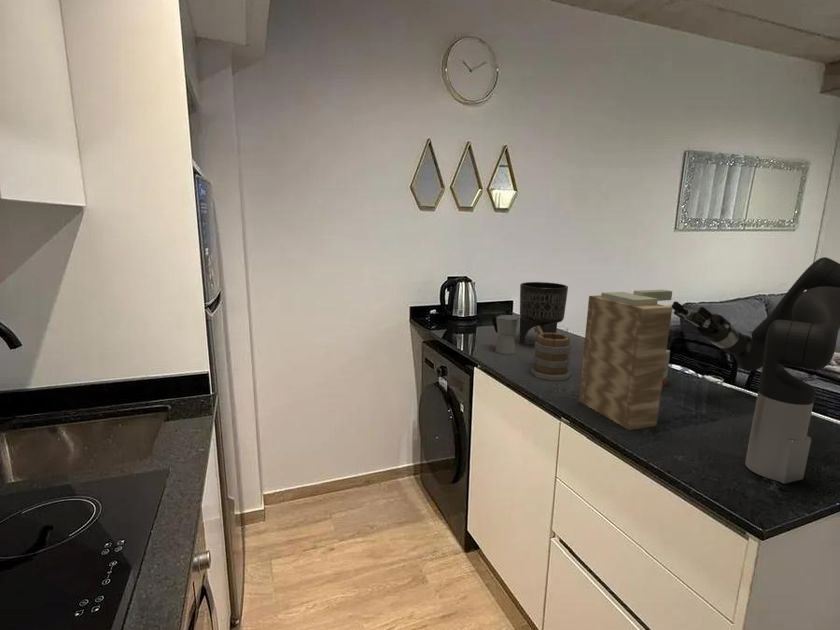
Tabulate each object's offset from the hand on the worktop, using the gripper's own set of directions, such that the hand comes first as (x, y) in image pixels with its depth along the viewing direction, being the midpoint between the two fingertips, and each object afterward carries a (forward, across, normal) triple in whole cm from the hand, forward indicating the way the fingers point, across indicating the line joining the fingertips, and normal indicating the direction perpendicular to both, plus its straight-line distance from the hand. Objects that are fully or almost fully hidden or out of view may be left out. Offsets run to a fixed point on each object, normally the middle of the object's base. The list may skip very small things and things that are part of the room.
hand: (686, 306), depth 129 cm
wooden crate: (+4, 0, +36) cm, 36 cm away
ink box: (-23, -17, +21) cm, 35 cm away
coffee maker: (+3, -64, +36) cm, 74 cm away
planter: (-14, -68, +26) cm, 74 cm away
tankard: (+2, -37, +35) cm, 51 cm away
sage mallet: (+15, 0, +6) cm, 16 cm away
